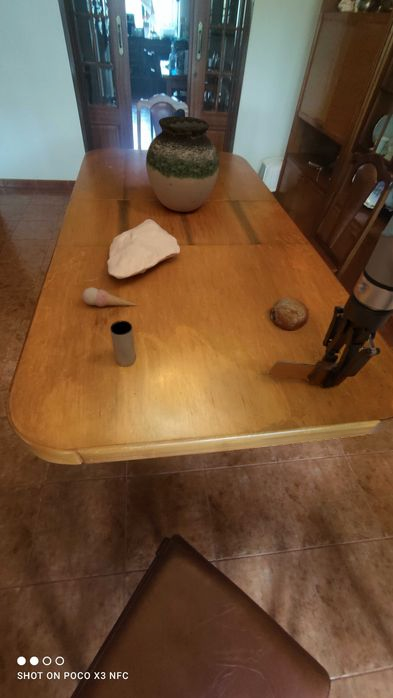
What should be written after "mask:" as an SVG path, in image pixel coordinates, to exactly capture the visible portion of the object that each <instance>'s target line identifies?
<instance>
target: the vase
mask: <svg viewBox="0 0 393 698" xmlns="http://www.w3.org/2000/svg"><path fill="white" fill-rule="evenodd" d="M158 125H159V127H160V129H161V131H160V133H159V134H157V135H155V137H154V138H153V139H152V141H151V142H150V144H149V146H148V149H147V152H146V157H145V169H146V173H147V177H148V181H149V184H150V186H151V189H152V190H153V193H154V194H155V196H156V198H157V200H158V201H159V202H160V203H161V204H162V205H163V206H164V207H165V208H167V209H169V210H171V211H175V212H181V213H187V212H192V211H194V210H197V209H198V208H200V207H201V206H202V205H203V204H205V203H206V201H207V199H208V198H209V197H210V195H211V193H212V192H213V190H214V187H215V185H216V183H217V180H218V176H219V172H220V158H219V153H218V150H217V148H216V146H215V144H214V142H213V141H212V140H211V138H209V137H208V136H207V135H206V134H207V132H208V129H209V128H210V123H209V122H208V121H206V120H204V119H201V118H196V117H192V116H182V115H181V116H180V115H178V116H177V115H176V116H174V115H173V116H165V117H162V118H160V119H159V120H158Z"/></svg>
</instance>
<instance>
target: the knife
mask: <svg viewBox="0 0 393 698" xmlns="http://www.w3.org/2000/svg"><path fill="white" fill-rule="evenodd" d="M337 364H338V362H336V363H334V362H326V361H322V360H318V361H317V362H316V363H315V364H309V363H301V362H294V361H287V360H279V359H277V360H275V362H274V363H273V364H272V366H271V367H270V368H269V369H268V371H267V372H266V373H265V375H266V376H271V377H280V378H289V379H290V378H291V379H299V380H307V381H308V382H309V384H311V385H321V386H322V384H323V382H324V381H325V379H326V377H327V376H328V374H329V372H330V371H331V369H332V367H336V366H337ZM346 379H348V377H343V378H342V380H341V381H340V382H337V383H336V385H335V386H334V387H339V386H340V385H341V384H342V383H343V382H344V381H346Z"/></svg>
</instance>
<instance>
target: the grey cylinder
mask: <svg viewBox="0 0 393 698" xmlns="http://www.w3.org/2000/svg"><path fill="white" fill-rule="evenodd" d="M109 331H110V336H111V340H112V347H113V352H114V357H115V358H114V359H115V362H116V364H117V365H118V366H119V367H130V366H132V365H134V363H135V362H136V360H137V359H136V349H135V340H134V331H133V325H132V323H131V322H129V321H127V320H117V321H115V322H113V323H112V324H111V326H110V329H109Z"/></svg>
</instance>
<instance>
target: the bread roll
mask: <svg viewBox="0 0 393 698" xmlns="http://www.w3.org/2000/svg"><path fill="white" fill-rule="evenodd" d="M270 314H271V315H270V319H271V320H272V321H273V322H274V323H275V324H276V325H277V326H278V327H279V328H281V329H282V330H286V331H297V330H300V329H301V328H303V327H304V326H305V325H306V324H307V323H308V320H309V318H310V317H309V316H310V313H309V308H308V307H307V306H306V304H305V302H303V301H301V300H299V299H293V298H289V297H287V296H286V297H281V298H278V300H277V301H276V302H275V303H274V304H273V306H272V310H271V313H270Z"/></svg>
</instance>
